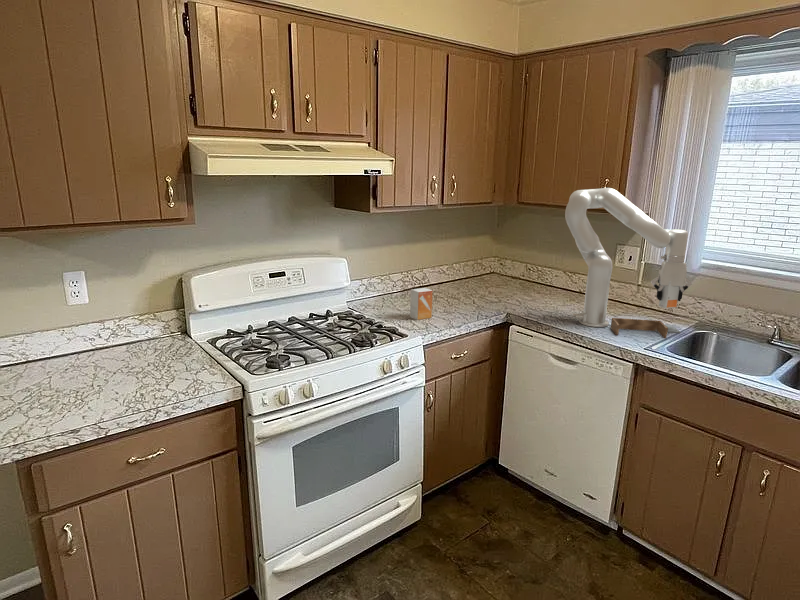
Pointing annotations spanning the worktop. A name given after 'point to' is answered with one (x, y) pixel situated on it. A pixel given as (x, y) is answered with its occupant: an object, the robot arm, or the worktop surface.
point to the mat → (671, 329)
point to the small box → (421, 303)
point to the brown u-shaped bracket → (638, 325)
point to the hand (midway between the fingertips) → (668, 299)
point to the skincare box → (669, 296)
